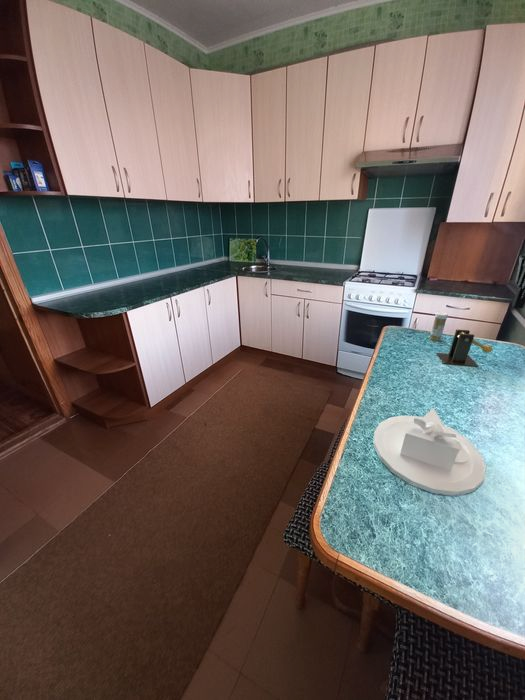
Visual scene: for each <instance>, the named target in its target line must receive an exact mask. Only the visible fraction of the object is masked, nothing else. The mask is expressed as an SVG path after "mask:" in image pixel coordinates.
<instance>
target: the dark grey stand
mask: <svg viewBox="0 0 525 700" xmlns="http://www.w3.org/2000/svg"><path fill="white" fill-rule="evenodd" d="M461 332H464V333H466V334H460V333H461ZM470 332H471V330H470V329H455V332H454V336H453V338H452V342H451V345H450V348H449V352H448V353H446V352H445V353H444V352H436V353H435V354H436V356H437V358H438V359H439V361H440V362H441V364H442V365H448V366H460V367H469V368H470V367H471V368H479V365H478V364H477V363H476V361H475V360H474V359H473V358H472V357H471V356H470V355H469V353H470V350H471V347H472V344H473V343H472V341H473V340H474V338H475V334H474V333H470ZM459 334H460V336H459V338H458V337H457V336H458V335H459Z"/></svg>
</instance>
